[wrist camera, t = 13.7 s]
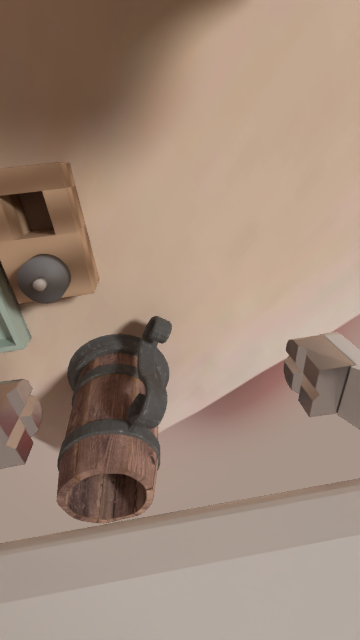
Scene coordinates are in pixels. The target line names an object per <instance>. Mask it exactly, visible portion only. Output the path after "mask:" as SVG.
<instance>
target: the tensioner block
mask: <svg viewBox="0 0 360 640" xmlns="http://www.w3.org/2000/svg"><path fill="white" fill-rule="evenodd" d="M36 191H42V192H43V196H44V199H45V202H46V205H47V208H48V212H49V215H50V218H51V221H52V224H53V229H45V230H37V231H31V230H30V227H29V224H28V222H27V219H26V216H25V213H24V210H23V207H22V205H21V202H20V199H19V196H18V194H19V193H28V192H36ZM0 261H1V263H2V266H3V268H4V270H5V273H6V275H7V277H8V280H9V282H10V284H11V287H12V289H13V291H14V294H15V296H16V298H17V301H18V303H19V304H20V303H27V302H35V301H36V302H39V303H52V302H55V301H57V300H59V299H60V298H64V297H71V296H78V295H85V294H93V293H94V292H95V289H96V287H97V284H98V281H99V276H98V272H97V268H96V264H95V260H94V256H93V253H92V249H91V245H90V241H89V237H88V233H87V229H86V225H85V221H84V217H83V214H82V210H81V206H80V202H79V198H78V194H77V190H76V186H75V182H74V179H73V175H72V171H71V167H70V163H60V162H56V163H47V164H37V165H28V166H19V167H10V168H1V169H0Z"/></svg>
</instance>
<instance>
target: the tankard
mask: <svg viewBox="0 0 360 640" xmlns="http://www.w3.org/2000/svg"><path fill="white" fill-rule="evenodd" d="M171 329H172V325H171V323H170V322H169V321H167V320H165V319H163V318H160V317H158V316H154V317H152V318H151V319H150V321H149V322H148V324H147V326H146V328H145V330H144V332H143V335H142V338H138V337H135V336H131V335H123V334H115V335H106V336H101V337H98V338H96V339H93V340H91V341H89V342H87V343H86V344H84V345H83V346H81V347H80V348H79V349H78V350H77V351H76V352H75V354H74V355H73V357H72V358H71V360H70V363H69V366H68V380H69V384H70V386H71V388H72V390H73V391H74V393H73V398H72V411H71V415H70V420H69V424H68V428H67V432H66V437H65V440H64V441H63V443H62V446H61V449H60V453H59V457H58V470H59V479H58V490H57V503H58V505H59V506H60V507H61V508H62V509H63V510H64V511H65V512H66V513H67V514H69V515H70V516H71V517H73V518H75V519H78V520H81V521H86V522H93V523H109V522H113V521H117V520H121V519H125V518H130V517H134V516H138V515H140V514H142V513H143V512H145V511H146V510H147V509H148V508H149V507H150V505H151V504H152V501H153V498H154V492H155V484H156V476H157V471H158V469H159V466H160V445H159V442H158V425H159V423H160V422H161V420H162V418H163V416H164V413H165V410H166V406H167V392H166V389H165V388H166V386H167V384H168V380H169V367H168V363H167V361H166V359H165V357H164V355H163V354H162V353H161V352H160V350H159V349H158V348H157V344H158V342H159V343H164V342H166V341H167V339H168V338H169V335H170V333H171Z"/></svg>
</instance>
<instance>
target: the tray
mask: <svg viewBox="0 0 360 640" xmlns="http://www.w3.org/2000/svg"><path fill="white" fill-rule="evenodd" d="M31 338H32V337H31V335H30V333H29V330H28V328H27V326H26V324H25V321H24V319H23V317H22V314H21V312H20V310H19V307H18V305H17V303H16V300H15V298H14V296H13V293H12V291H11V289H10V287H9V284H8V282H7V280H6V277H5V275H4V273H3V270H2V268H1V266H0V353H2V352H8V351H15V350H22V349H25V347H26V346H27V344H28V343H29V341H30V340H31Z"/></svg>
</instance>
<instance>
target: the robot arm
mask: <svg viewBox="0 0 360 640" xmlns="http://www.w3.org/2000/svg"><path fill="white" fill-rule="evenodd" d="M286 351H287V353H288V354H289V357H288V358H287V359H286V360H285V361H284V374H285V379H286V381H287V383H288V385H289V387H290V388H291V390H293V391H295V392H296V393H299V399H298V401H299V402H300V403H301V405H302V406H303V408H304V410H305V411H306V412H307V414H308V416H309V417H314V416H321V415H329V414H336V413H338V414H337V415H338V416H340V417H341V418H343V419H344V420H346V421H348V422H349V423H351V424H352V425H354V426H355V427H357V428H358V429H360V350H359V349H357V348H356V347H355V346H354V345H353V344H351V343H350V342H349V341H348V340H347V339H346V338H345V337H343V336H342V335H341V334H340V333H337V332H331V333H326V334H320V335H317V336H310V337H304V338H297V339H291V340H289V341H288V342H287V346H286ZM32 389H33V388H32V386H31V385H30V383H29V381H28V380H25V379H19V380H11V381H3V382H0V469H2V468H7V467H13V466H18V465H23V464H25V463H26V460H27V458H28V455H29V453H30V450H31V448H32V445H33V441H32V439H31V436H33V435H34V434H35V433H36V432H37V431H38V430H39V427H40V424H41V421H42V409H41V404H40V402H39V400H38V399H37V398H35V397H34V396H32V395H30V394H31V391H32ZM0 640H360V478H359V479H353V480H348V481H342V482H337V483H331V484H326V485H320V486H315V487H309V488H303V489H298V490H293V491H287V492H281V493H276V494H270V495H265V496H259V497H254V498H248V499H242V500H237V501H231V502H226V503H220V504H215V505H209V506H204V507H198V508H193V509H187V510H182V511H177V512H170V513H165V514H159V515H154V516H149V517H143V518H137V519H132V520H127V521H121V522H116V523H110V524H104V525H99V526H93V527H88V528H83V529H77V530H71V531H66V532H61V533H54V534H49V535H44V536H38V537H33V538H27V539H21V540H16V541H11V542H5V543H0Z"/></svg>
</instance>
